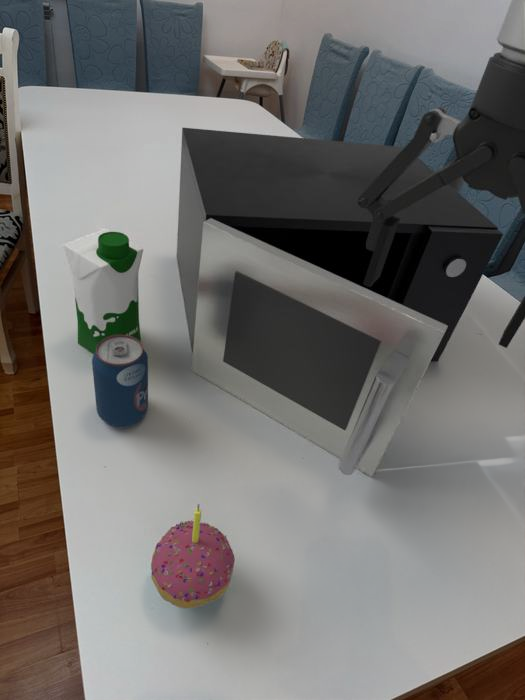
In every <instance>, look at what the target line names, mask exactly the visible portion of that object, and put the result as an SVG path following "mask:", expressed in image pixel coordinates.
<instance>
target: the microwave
mask: <svg viewBox="0 0 525 700" xmlns="http://www.w3.org/2000/svg"><path fill="white" fill-rule="evenodd" d="M404 148H405V146H398V145H397V146H396V145H387V144H386V145H385V144H374V143H373V144H372V143H364V142H363V143H362V142H349V141H341V140H340V141H339V140H328V139H317V138H305V137H295V136H285V135H284V136H283V135H282V136H281V135H272V134H261V133H250V132H239V131H238V132H237V131H227V130H215V129H204V128H194V127H182V128H181V147H180V149H181V150H180V168H179V169H180V170H179V172H180V173H179V196H178V214H177V215H178V217H177V236H176V237H177V239H176V262H177V267H178V273H179V274H178V275H179V282H180V287H181V292H182V300H183V306H184V312H185V319H186V325H187V331H188V337H189V338H188V339H189V343H190V350H191V356H192V357H193V345H194V332H195V320H196V307H197V295H198V283H199V270H200V258H201V245H202V233H203V222H204V221H206V220H208V219H210V218H212V219H214V220H216V221H218V222H221V223H223V224H225V225H227V226H229V227H232V228H234V229H236V230H238V231H240V232H243V233H245V234H247V235H249V236H251V237H254V238H256V239H258V240H260V241H262V242H265V243H267V244H269V245H271V246H273V247H276V248H278V249H280V250H282V251H284V252H287V253H289V254H291V255H293V256H295V257H298V258H300V259H302V260H304V261H307V262H309V263H311V264H313V265H315V266H318V267H320V268H322V269H324V270H326V271H329V272H331V273H333V274H335V275H337V276H340V277H342V278H344V279H346V280H348V281H351V282H353V283H355V284H357V285H359V286H362V287H364V288H366V289H368V290H370V291H373V292H375V293H377V294H379V295H381V296H384V297H386V298H388V299H390V300H392V301H395V302H397V303H399V304H401V305H403V306H406V307H408V308H410V309H412V310H414V311H417V312H419V313H421V314H423V315H425V316H428V317H430V318H432V319H434V320H436V321H439V322H441V323H443V324H445V325H447V326H448V327H447V329H446V331H445V333H444V335H443V337H442V339H441V341H440V343H439V345H438V347H437V349H436V351H435V353H434V355H433V357H432V359H431V361H430V363H432V362H433V363H434V362H435V363H436V362H439V361H440V359H441V357H442V354H443V353H444V351H445V349H446V347H447V345H448V343H449V341H450V339H451V337H452V335H453V333H455V330H456V327H457V325H458V324H459V322H460V320H461V318H462V315H463V314H464V312H465V310H466V309H467V306H468V304H469V302H470V301H471V298H472V297H473V295H474V293H475V291H476V289H477V287H478V285H479V283H480V281H481V279H482V277H483V276H484V273H485V271H486V269H487V267H488V265H489V263H490V261H491V259H492V258H493V256H494V254H495V252H496V250H497V248H498V247H499V244H500V242H501V240H502V238H503V236H504V233H503V232H502V231H501V230H500V229H499V227H498V226H497V225H496V224H495V223H494V222H493V221H491V220H490V219H489V218H488V217H487V216H485V215H484V214H483V213H482V212H481V211H480V210H478V208H476V207H475V206H474V205H473V204H472V203H471V202H470V201H468V200H467V199H466V198H465V197H464V196H463V195H462V194H460V192H458V191H457V190H456V189H455V188H453V186H451V185H450V183H449V184H447V185H445V186H443V187H441V188H439V189H438V190H436V191H434V192H432V193H431V194H429V195H427V196H425V197H424V198H422V199H420V200H419V201H417V202H415V203H413V204H412V205H410V206H408V207H406V208H405V209H403V210H401V211H399V212H398V213H396V214H394V215H392V216H395V217H397V218H400V221H399V223H398V226H397V229H396V232H395V235H394V238H393V241H392V244H391V246H390V249H389V252H388V255H387V258H386V261H385V264H384V267H383V269H382V272H381V275H380V277H379V278H378V279H377V280H376V281H375V283H374V284H373V285H372V286H371V287H368V286H365V285H363V283H364V280H365V277H366V273H367V270H368V267H369V264H370V261H371V258H372V255H373V251H370V250H368V249H366V241H367V238H368V234H369V231H370V228H371V225H372V221H373V216H372V214H371V213H370V212H369V211H368V210H367V209H366V208H361V207H360V206H359V205H358V198H359V197H360V196H361V194H362V193H363V192H364V191H365V190H366V189H367V188H368V187H369V186H370V185H371V184H372V182H373V181H374V180H375V179H376V178H377V177H378V176H379V175H380V174H381V173H382V172H383V170H384V169H385V168H386V167H387V166H388V165H389V164H390V163H391V162H392V161H393V160H394V158H395V157H396V156H397V155H398V154H399V153H400V152H401V151H402V150H403V149H404ZM435 172H436V171H434V170H433V169H432V168H431V167H429V166H428V165H427V164H426V163H425V162H424V161H423V160H422V159H420V158H419V157H418V158H417V159H416V160H415V161H414V162H413V163H412V164H411V165H410V166H409V168H408V169H407V170H406V171H405V172H404V173H403V174H402V175H401V176H400V177H399V178H398V179H397V180H396V181H395V182H394V183H393V184H392V185H391V186H390V187H389V188H388V189H387V190H386V191H385V193H384V194H383V195H382V197H383V198H384V199H385V200H387V201H388V200H390V199H392V198H393V197H395V196H397V195H398V194H400V193H402V192H403V191H405V190H406V189H408V188H410V187H411V186H413V185H415V184H416V183H418V182H420V181H421V180H423V179H425V178H426V177H428V176H430V175H431V174H433V173H435ZM392 216H391V217H392Z"/></svg>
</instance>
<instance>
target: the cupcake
mask: <svg viewBox="0 0 525 700" xmlns="http://www.w3.org/2000/svg"><path fill="white" fill-rule="evenodd" d="M200 507H201V506H200V503H197V507H196V508H195V510H194V512H193V513H194V514H193V520H188V521H179V523H176V525H175V526H171V527H170V529H169V530H167V531H166V532H165V534H164V535H162V537H161V539H159V542H157V543H156V546H155V547H154V548H155V549H154V551H153V553H152V557H151V563H150V568H151V577H150V578H151V580H152V583H153V585H154V586H155V588H156V590H157V592H158V594H159V596H160V597H161V598H162V599H163V600H164V601H166V602H168V603H170V604H172V605H174V606H176V607H177V608H179V609H193V608H197V607H201V606H204V605H206V604H208V603H210V602H214V601H216V600H218V599H219V598H221V597H222V595H223V594H224V593H225V592H226V591H227V589H228V588H229V585H230V583H231V580H232V575H233V573H234V567H235V563H236V562H235V561H236V558H235V554H234V551H233V549H232V547H231V544H230V542H229V540H228V538H227V535H225V534H224V533H222V532H221V531H220V530H219V528H217V527H215V526H212V525H210V524H209V523H208V522H201V521H202V520H201V519H202V509H200Z"/></svg>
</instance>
